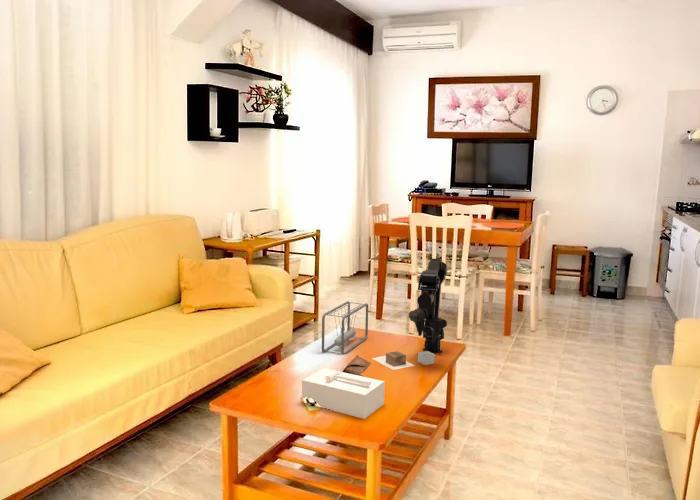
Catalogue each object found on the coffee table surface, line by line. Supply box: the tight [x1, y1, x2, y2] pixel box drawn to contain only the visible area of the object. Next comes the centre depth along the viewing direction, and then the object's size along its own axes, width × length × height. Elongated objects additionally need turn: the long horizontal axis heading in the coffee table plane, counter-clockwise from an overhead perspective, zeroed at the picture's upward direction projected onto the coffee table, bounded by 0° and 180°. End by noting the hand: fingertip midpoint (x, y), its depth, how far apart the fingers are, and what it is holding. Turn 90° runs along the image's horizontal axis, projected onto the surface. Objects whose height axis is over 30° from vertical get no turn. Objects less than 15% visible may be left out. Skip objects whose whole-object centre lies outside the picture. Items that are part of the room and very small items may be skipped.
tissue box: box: [301, 367, 386, 420], centre depth 213 cm, size 14×25×11 cm, turn 60°
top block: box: [417, 350, 436, 366], centre depth 254 cm, size 5×5×5 cm
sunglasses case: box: [342, 354, 372, 377], centre depth 247 cm, size 18×7×7 cm
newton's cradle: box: [321, 300, 369, 355], centre depth 277 cm, size 30×10×18 cm, turn 157°
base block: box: [385, 350, 407, 367], centre depth 252 cm, size 6×6×4 cm
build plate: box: [371, 355, 415, 371], centre depth 254 cm, size 11×16×1 cm
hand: (426, 338), depth 253 cm, fingers open, 9 cm apart
